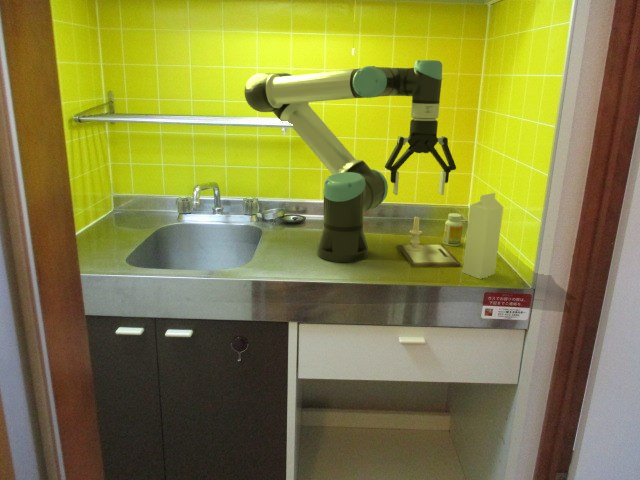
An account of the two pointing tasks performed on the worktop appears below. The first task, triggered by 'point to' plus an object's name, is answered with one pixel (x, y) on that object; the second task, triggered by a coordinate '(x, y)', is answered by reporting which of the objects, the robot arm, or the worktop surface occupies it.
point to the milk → (483, 237)
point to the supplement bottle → (453, 230)
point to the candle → (415, 237)
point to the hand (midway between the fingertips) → (418, 194)
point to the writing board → (429, 256)
